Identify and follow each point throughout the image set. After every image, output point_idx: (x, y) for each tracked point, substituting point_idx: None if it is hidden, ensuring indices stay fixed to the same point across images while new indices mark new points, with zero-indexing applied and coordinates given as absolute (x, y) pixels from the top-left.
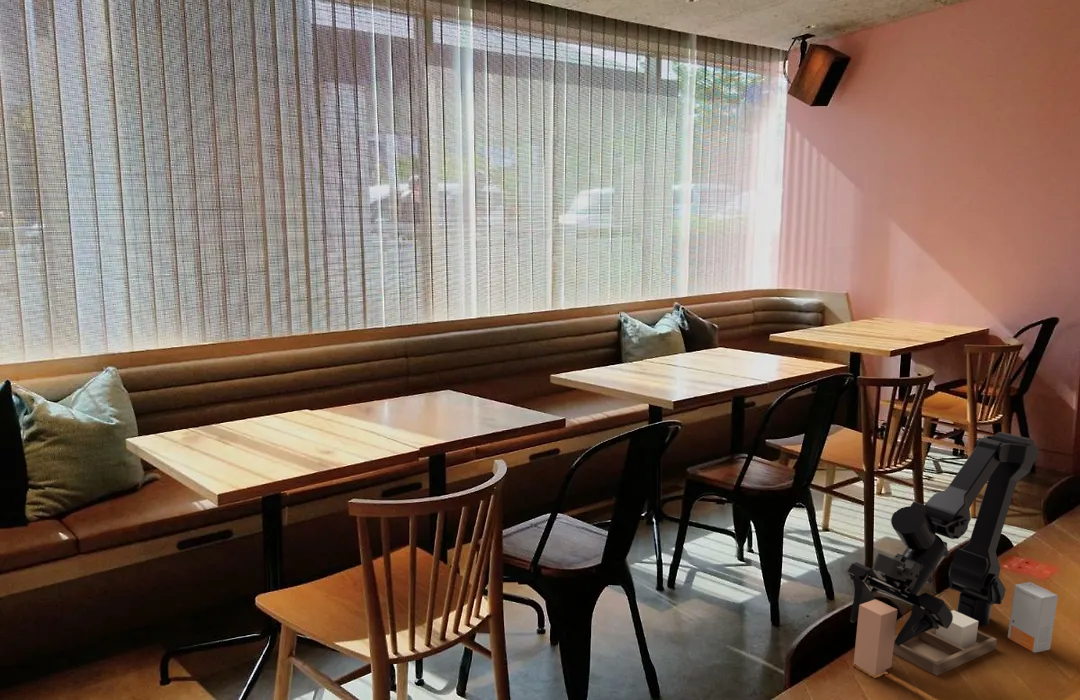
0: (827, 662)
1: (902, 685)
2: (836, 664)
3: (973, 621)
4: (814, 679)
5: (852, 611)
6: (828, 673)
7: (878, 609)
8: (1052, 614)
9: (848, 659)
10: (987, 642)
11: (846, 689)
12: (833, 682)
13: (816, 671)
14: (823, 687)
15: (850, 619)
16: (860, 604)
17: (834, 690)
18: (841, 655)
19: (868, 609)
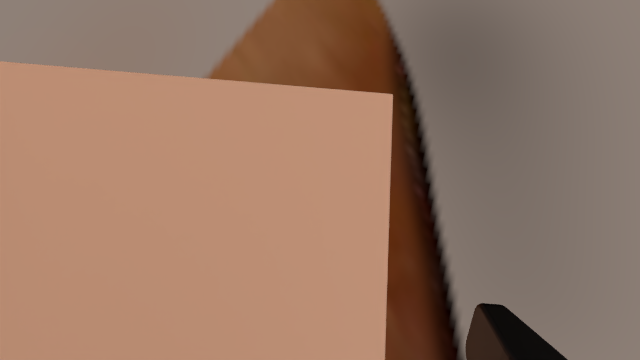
0: (431, 201)
1: None
2: (393, 223)
3: None
4: (363, 30)
5: (553, 357)
6: None
7: (23, 234)
8: None
9: (392, 329)
10: None
11: (228, 74)
12: (298, 75)
13: (403, 89)
14: (300, 12)
15: (495, 307)
16: (389, 121)
17: (257, 28)
18: (442, 334)
19: (178, 78)
